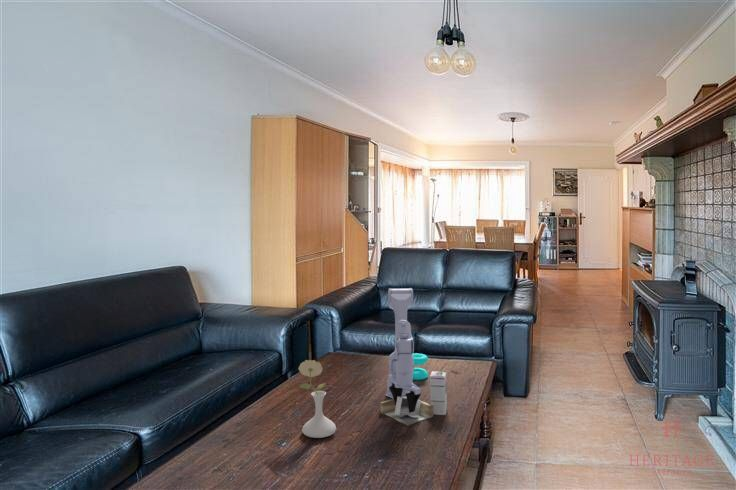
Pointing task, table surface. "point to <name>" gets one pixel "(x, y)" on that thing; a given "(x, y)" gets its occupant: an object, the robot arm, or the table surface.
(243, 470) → the table surface
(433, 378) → the syrup box
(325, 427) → the flower in vase
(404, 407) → the bracket
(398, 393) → the robot arm
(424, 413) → the arena
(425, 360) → the donuts
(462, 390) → the table surface
